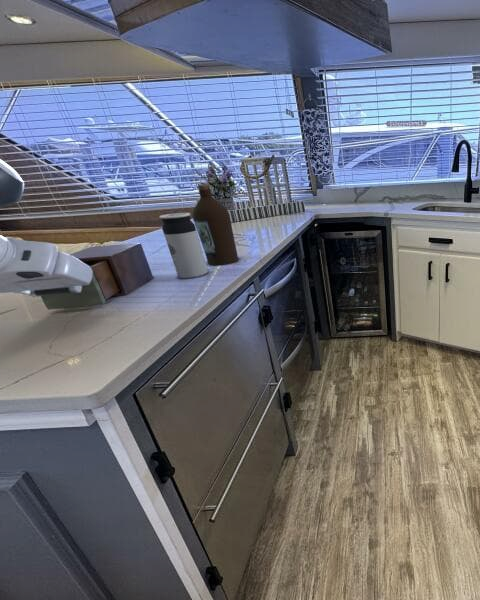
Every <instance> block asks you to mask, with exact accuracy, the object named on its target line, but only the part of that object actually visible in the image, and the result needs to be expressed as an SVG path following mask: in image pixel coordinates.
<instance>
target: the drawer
mask: <svg viewBox="0 0 480 600" xmlns="http://www.w3.org/2000/svg"><path fill="white" fill-rule="evenodd" d="M82 262H83V263H85V264H86V265H88V266H89V267H91V268H92V271H93V274H92V280H91V282H90V284H89V285H82V290H81V292H80V293H71V292H69V291H67V289H68V287H61V288H51V289H40V290H35V291H34V293H35V295H37V296H39V297H40V298H41V300H42V301H43V303H44V306H45V307H46V309H47V310H48V311H49V310H50V311H51V310H59V309H68V308H70V309H71V308H79V307H87V306H88V307H89V306H97V305H98V306H99V305H104V304H106V303H107V299H108V298H111V297H113V296H112V295H114V294H115V293H117V292H119V291H120V290H121V289H120V286H119V284H118V282H117V279H116V277H115V274H114V272H113V270H112V267H111V265H110V262H109V260H108V259H104V260H92V261H82Z"/></svg>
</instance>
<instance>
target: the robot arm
mask: <svg viewBox="0 0 480 600" xmlns="http://www.w3.org/2000/svg"><path fill="white" fill-rule="evenodd" d="M24 190H25V181H24V180H23V179H22V177H21V176H20V174H19V173H18V172H17V171H16V170H15V169H14V168H13V167H12V166H10V165H9V164H8V163H7V162H6V161H4V160H2V159H1V158H0V209H2V208H5V207H9V206H10V205H13V204H16V203H19V202H21V201H22V198H23V195H24ZM92 274H93V271H92V268H91V267H89V266H88V265H86V264H85V263H83V262H82V261H80V260H78V259H76V258H75V257H73V256H71V255H69V254H68V253H66V252H62V251H59V248H58V246H57V245H56V244H54V243H51V242H45V241H33V240H24V239H18V238H13V237H5V236H3V235H2V234H0V294H7V293H8V294H9V293H13V294H20V295H26V296H27V295H28V296H30V297H32V298H39V297H40V296H37V295H35V293H34V291H35V290H40V289H51V288H61V287H68V289H67V291H69V292H71V293H80V292H81V290H82V285H89V284H90V282H91V280H92Z"/></svg>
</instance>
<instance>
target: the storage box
mask: <svg viewBox="0 0 480 600" xmlns="http://www.w3.org/2000/svg"><path fill="white" fill-rule="evenodd" d="M69 255H71V256H73V257H75V258H76V259H78V260H80V261H92V260H104V259H108V260H109V262H110V265H111V267H112V270H113V272H114V274H115V277H116V279H117V282H118V284H119V286H120V289H121V290H120V291H119V292H117V293H115V294H114V295H112V296H111V297H119V296H127V295H128V294H130V293H131V292H133V291H135V290H136V289H138V288H140V287H141V286H142V285H143V284H146V283H147V282H148V281H150V280H152V279H153V278H154V276H153V273H152V269H151V267H150V265H149V264H150V263H149V262H148V259H147V257H146V253H145V251H144V248H143V245H142V242H135V243H124V244H123V243H122V244H121V243H120V244H108V245H97V246H90V247H87V248H83V249H81V250H78V251H75V252H72V253H70V254H69Z"/></svg>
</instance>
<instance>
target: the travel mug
mask: <svg viewBox="0 0 480 600" xmlns="http://www.w3.org/2000/svg"><path fill="white" fill-rule="evenodd" d="M159 219H161V221H162V227H161V228H162V232H163V235H164V238H165V241H166V245H167V247H168V250H169V254H170V256H171V259H172V263H173V265H174V269H175V271H176V275H177V277H178V278H180V279H195V278H198V277H201V276H205V275H206V274H207V273H208V272H209V269H208V265H207V263H206V262H207V261H206V259H205V256H204V255H205V254H204V252H203V248H202V244H201V241H200V237H199V234H198V232H197V229H196V226H195V223H194V221H192V219H191V213H190V212H177V213H176V212H175V213H168V214H167V213H166V214H161V215H159Z"/></svg>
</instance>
